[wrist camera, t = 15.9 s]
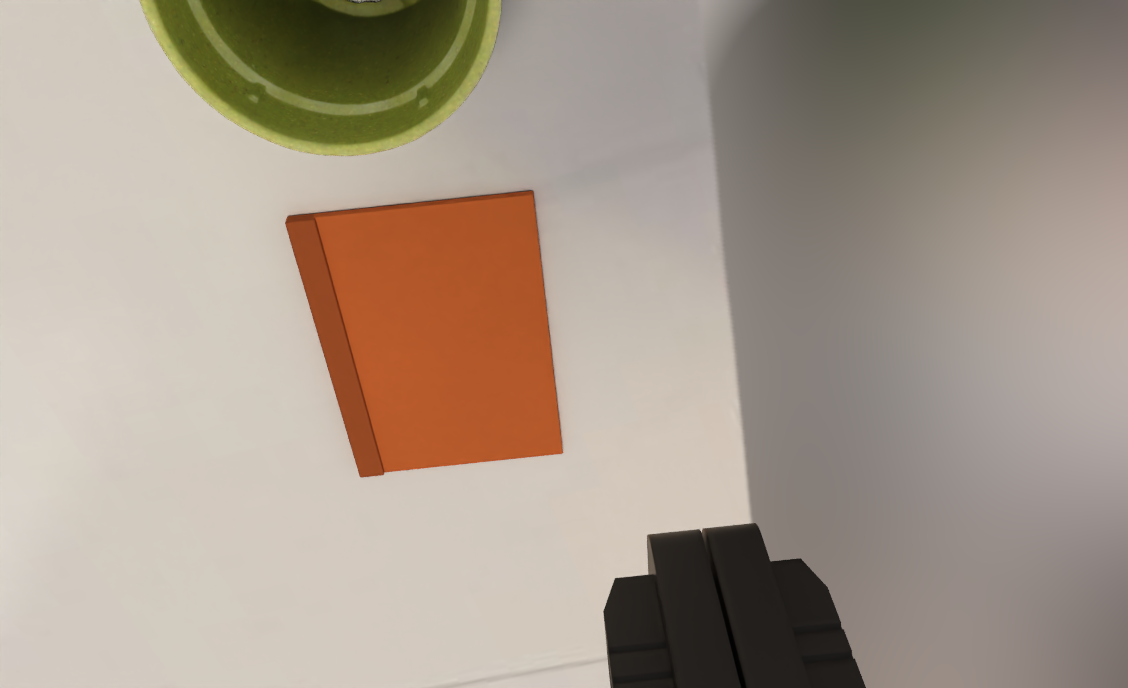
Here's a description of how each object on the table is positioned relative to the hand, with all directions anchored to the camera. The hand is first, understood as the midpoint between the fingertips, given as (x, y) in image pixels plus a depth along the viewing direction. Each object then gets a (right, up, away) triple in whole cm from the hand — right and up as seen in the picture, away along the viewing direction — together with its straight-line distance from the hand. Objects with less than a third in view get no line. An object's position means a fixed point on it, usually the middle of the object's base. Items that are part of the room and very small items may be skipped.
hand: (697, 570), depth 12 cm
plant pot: (-9, +17, +18) cm, 27 cm away
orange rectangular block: (-8, +3, +28) cm, 29 cm away
